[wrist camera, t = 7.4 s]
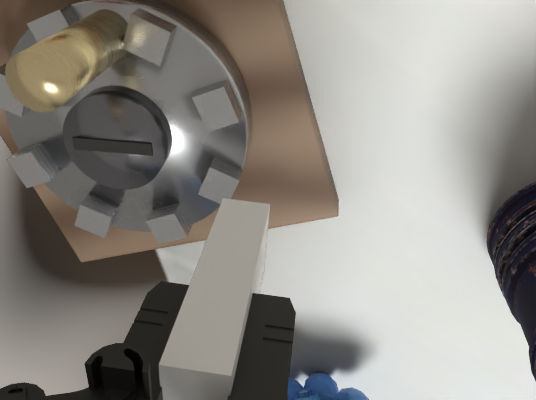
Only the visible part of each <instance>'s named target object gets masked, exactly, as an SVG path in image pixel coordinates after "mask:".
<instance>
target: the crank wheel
mask: <svg viewBox="0 0 536 400" xmlns="http://www.w3.org/2000/svg"><path fill="white" fill-rule="evenodd" d="M27 25H28V27H29V29H28V30H27V31H26V33H25V34H24V35H23V36H22V37H21V38H20V40H19V41H18V43H17V45H16V46H15V48H14V50H13V51H12V54H11V56H10V59H9V61H8V63H7V64H4V65H2V66H0V108H2V109H4V110H5V113H6V117H7V122H8V125H9V128H10V131H11V134H12V137H13V139H14V141H15V143H16V145H17V147H18V149H19V150H18V151H17V152H16V153H14V154H13V155H12V156H11V157H10V158H8V159H7V161H8V163H9V164H10V165H11V167H12V168H13V170H14V171H15V172H16V174H17V175H18V177H19V178H20V179H21V181H22V182H23V183H24V185H25V186H26V188H29V187H32V186H36V185H39V184H42V183H44V184H45V186H46V187H47V188H48V189H50V190H51V191H52V192H53V193H54V194H55V195H56V196H58V197H59V198H60V199H61V200H63V201H64V202H65V203H67V204H68V205H70V206H71V207H72V208H74V209H76V210H78V214H77V218H76V222H75V226H76V227H79V228H81V229H84V230H86V231H88V232H91V233H93V234H96V235H98V236H100V237H103V238H106V236H107V235H108V233H109V231H110V230H111V228H112V227H113V226H114V227H118V228H121V229H126V230H132V231H139V232H152V233H153V235H154V236H155V238H156V239H157V241H158V243H159V244H161V243H165V242H169V241H173V240H177V239H181V238H185V237H188V235H189V232H190V230H191V228H192V224H194V223H196V222H198V221H200V220H202V219H204V218H205V217H207V216H208V215H210V214H212V213H213V212H214V211H215V210H216V209H217V208H219V207H220V205H221V202H222V200H223V198H226V199H231V197H232V195H233V193H234V191H235V189H236V187H237V185H238V183H239V181H240V178H241V175H242V172H243V170H242V169H243V166H244V163H245V160H246V157H247V154H248V151H249V147H250V143H251V138H252V125H253V124H252V109H251V104H250V99H249V95H248V92H247V89H246V86H245V83H244V80H243V78H242V76H241V74H240V72H239V70H238V68H237V66H236V64H235V63H234V61H233V60H232V58H231V57H230V55H229V54H228V52H227V51H226V50H225V48H224V47H223V46H222V45H221V44H220V42H219V41H218V40H217V39H216V38H215V37H214V36H213V35H212V34H211V33H210V32H209V31H208V30H207V29H206V28H205V27H204V26H202V25H201V24H200V23H198V22H197V21H196V20H194V19H193V18H192V17H190V16H189V15H187V14H185V13H184V12H182V11H180V10H178V9H176V8H175V7H173V6H170V5H168V4H166V3H163V2H161V1H158V0H78V1H76V2H74V3H72V4H69V5H67V6H65V7H63V8H61V9H59V10H56V11H54V12H52V13H50V14H47V15H45V16H43V17H40V18H38V19H36V20H34V21H32V22H30V23H27Z"/></svg>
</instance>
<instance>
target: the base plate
mask: <svg viewBox="0 0 536 400" xmlns="http://www.w3.org/2000/svg"><path fill="white" fill-rule="evenodd" d="M76 1H78V0H0V66H2V65H4V64H7V63H8V61H9V59H10V56H11V54H12V51H13V50H14V48H15V46H16V45H17V43H18V41H19V40H20V38H21V37H22V36H23V35H24V34H25V33H26V31H27V30H28V29H29V27H28V25H27V23H30V22H32V21H34V20H36V19H38V18H40V17H43V16H45V15H47V14H50V13H52V12H54V11H56V10H59V9H61V8H63V7H65V6H67V5H69V4H72V3H74V2H76ZM158 1H161V2H163V3H166V4H168V5H170V6H173V7H175V8H176V9H178V10H180V11H182V12H184V13H185V14H187V15H189V16H190V17H192V18H193V19H194V20H196V21H197V22H198V23H200V24H201V25H202V26H204V27H205V28H206V29H207V30H208V31H209V32H210V33H211V34H212V35H213V36H214V37H215V38H216V39H217V40H218V41H219V42H220V44H221V45H222V46H223V47H224V48H225V50H226V51H227V52H228V54H229V55H230V57H231V58H232V60H233V61H234V63H235V64H236V66H237V68H238V70H239V72H240V74H241V76H242V78H243V80H244V83H245V86H246V89H247V92H248V95H249V99H250V104H251V109H252V124H253V125H252V138H251V143H250V147H249V151H248V154H247V157H246V160H245V163H244V166H243V169H242V170H243V172H242V175H241V178H240V181H239V183H238V185H237V187H236V189H235V191H234V193H233V195H232V197H231V199H234V200H242V201H249V202H257V203H265V204H270V210H269V222H268V229H270V228H275V227H281V226H286V225H292V224H298V223H303V222H309V221H314V220H320V219H326V218H331V217H337V216H338V203H339V200H338V196H337V192H336V189H335V185H334V182H333V178H332V174H331V171H330V167H329V164H328V160H327V156H326V153H325V149H324V146H323V142H322V139H321V135H320V131H319V128H318V124H317V121H316V117H315V113H314V110H313V106H312V103H311V99H310V96H309V92H308V88H307V85H306V81H305V78H304V74H303V70H302V67H301V63H300V60H299V56H298V53H297V49H296V45H295V42H294V38H293V35H292V31H291V27H290V24H289V20H288V17H287V13H286V9H285V6H284V2H283V0H158ZM0 135H1V137H2V139H3V140H4V142H5V143H6V145H7V146H8V148H9V149H10V151H11V153H12V154H14V153H16V152H17V151H18V150H19V149H18V147H17V145H16V143H15V141H14V139H13V137H12V134H11V131H10V128H9V125H8V122H7V117H6V113H5V110H4V109H2V108H0ZM33 187H34V189H35V190H36V192H37V193H38V195H39V197H40V198H41V200H42V201H43V203H44V204H45V206H46V208H47V209H48V211H49V212H50V214H51V215H52V217H53V218H54V220H55V222H56V223H57V225H58V226H59V228H60V229H61V231H62V232H63V234H64V236H65V237H66V239H67V240H68V242H69V244H70V245H71V247H72V248H73V250H74V251H75V253H76V254H77V256H78V258H79V259H80V261H81V262H85V261H91V260H97V259H102V258H108V257H113V256H119V255H124V254H130V253H135V252H141V251H147V250H152V249H158V248H164V247H169V246H175V245H180V244H186V243H192V242H197V241H203V240H207V238H208V236H209V233H210V231H211V228H212V225H213V223H214V220H215V218H216V215H217V212H218V210H219V208H217V209H216V210H215V211H214V212H213V213H212V214H210V215H208V216H207V217H205V218H204V219H202V220H200V221H198V222H196V223H194V224H192V228H191V230H190V232H189V235H188V237H185V238H181V239H177V240H173V241H169V242H165V243H161V244H159V243H158V241H157V239H156V238H155V236H154V235H153V233H152V232H139V231H132V230H126V229H121V228H118V227H114V226H113V227H112V228H111V230H110V231H109V233H108V235H107V236H106V238H103V237H100V236H98V235H96V234H93V233H91V232H88V231H86V230H84V229H81V228H79V227H76V226H75V222H76V218H77V214H78V210H76V209H74V208H72V207H71V206H70V205H68V204H67V203H65V202H64V201H63V200H61V199H60V198H59V197H58V196H56V195H55V194H54V193H53V192H52V191H51V190H50V189H48V188H47V187H46V186H45V184H44V183H42V184H39V185H36V186H33Z"/></svg>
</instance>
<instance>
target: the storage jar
mask: <svg viewBox="0 0 536 400" xmlns="http://www.w3.org/2000/svg"><path fill="white" fill-rule="evenodd" d="M487 247H488V252H489V255H490V258H491V260H492V263H493V265H494V268H495V274H496V278H497V281H498V284H499V286H500V289H501V291H502V294H503V296H504V297H505V299H506V302H507V304H508V306H509V308H510V310H511V313H512V315H513V316H514V317H515V319H516V320H517V322H519V323H520V324H521V327H522V329H523V332H524V335H525V337H526V340H527V342H528V345H529V358H530V364H531V371H532V374H533V376H534V378H535V381H536V182H535V183H533V184H530V185H528V186H526V187H525V188H523V189H522V190H520V191H518V192H517V193H516V194H514V195H513V196H512V197H511V198H509V199H508V200H507V201H506V202H505V203H504V204H503V205H502V206H501V208H500V209H499V210H498V212H497V213H496V214H495V216H494V217H493V220H492V222H491V224H490V226H489V230H488V234H487Z"/></svg>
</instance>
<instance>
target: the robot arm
mask: <svg viewBox="0 0 536 400" xmlns="http://www.w3.org/2000/svg"><path fill="white" fill-rule="evenodd" d="M269 210H270V204H265V203H257V202H249V201H242V200H234V199H226V198H223V200H222V202H221V205H220V207H219V210H218V212H217V215H216V218H215V220H214V223H213V225H212V228H211V231H210V233H209V236H208V238H207V241H206V244H205V246H204V249H203V251H202V254H201V256H200V259H199V262H198V264H197V267H196V269H195V272H194V275H193V277H192V280H191V282H190V285H184V284H177V283H169V282H162V281H161V282H160V283H159V284H158V285H156V286H155V287H154V288H153V289H152V290H151V291H150V292H148V293H147V295H146V297H145V300H144V301H143V303H142V306H141V308H140V311H139V312H138V314H137V316H136V318H135V320H134V323H133V324H132V326H131V328H130V331H129V333H128V335H127V336H126V339H125V341H124V343H115V344H112V345H108V346H105V347H102V348H101V349H99V350H98V351H96V352H95V353H93V354H92V355H91V356H90V358H89V359H88V360H87V361H86V362H85V368H86V373H87V378H88V384H89V387H88V388H86V389H84V390H80V391H77V392H71V393H65V394H57V395H51V396H45V393H44V391H43V390H42V389H41V388H39V387H38V386H37V385H34V384H29V383H17V384H11V385H8V386H6V387H4V388H1V389H0V400H288V394H287V391H288V382H289V372H290V363H291V353H292V343H293V334H294V324H295V315H296V312H295V310H294V308H293V305H292V303H291V301H290V298H285V297H278V296H271V295H264V294H260V289H261V284H262V280H263V275H264V268H265V256H266V245H267V233H268V222H269Z"/></svg>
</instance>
